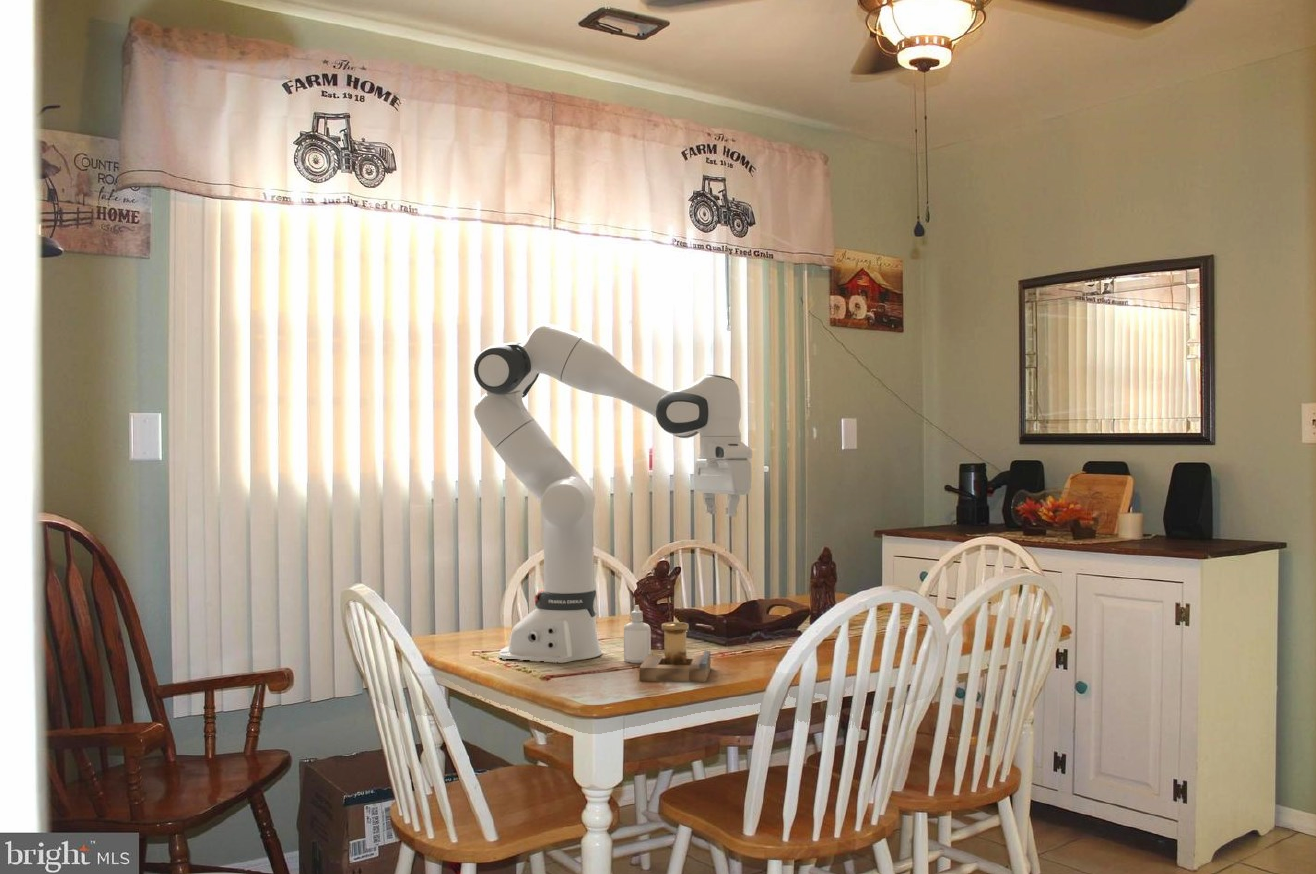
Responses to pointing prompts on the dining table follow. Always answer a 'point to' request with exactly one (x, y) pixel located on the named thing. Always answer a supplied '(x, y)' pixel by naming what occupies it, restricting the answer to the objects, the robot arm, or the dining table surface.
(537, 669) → the dining table surface
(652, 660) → the jig
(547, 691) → the dining table surface
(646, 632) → the eye dropper bottle
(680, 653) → the bushing
